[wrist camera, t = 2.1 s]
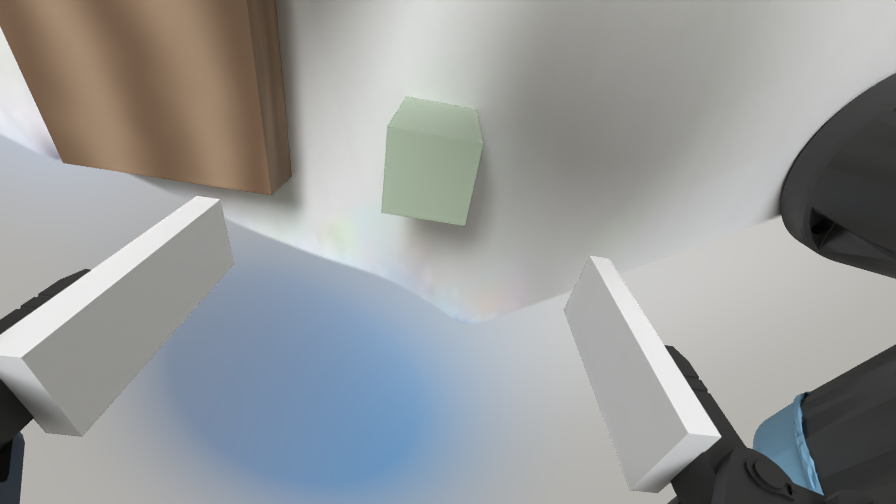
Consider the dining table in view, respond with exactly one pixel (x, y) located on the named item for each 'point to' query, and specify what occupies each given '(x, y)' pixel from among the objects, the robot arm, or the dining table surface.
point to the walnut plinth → (158, 86)
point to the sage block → (431, 161)
